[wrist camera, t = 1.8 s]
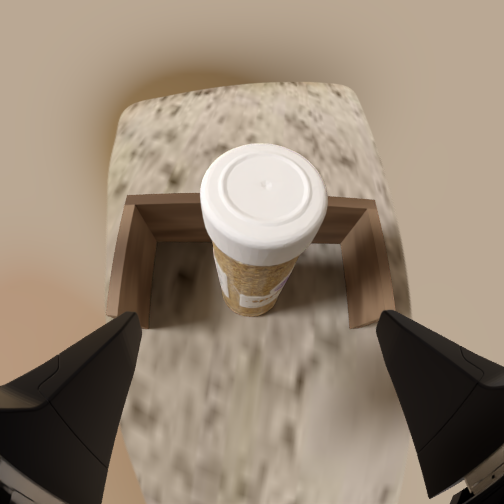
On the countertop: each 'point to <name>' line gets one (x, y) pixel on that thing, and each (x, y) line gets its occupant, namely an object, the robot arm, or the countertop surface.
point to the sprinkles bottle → (260, 220)
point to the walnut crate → (193, 230)
